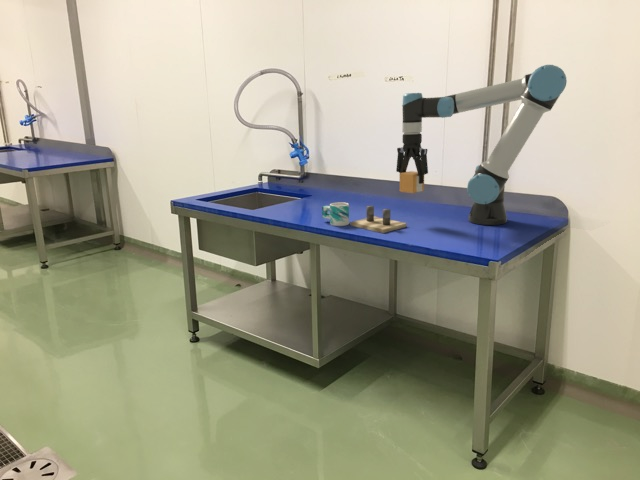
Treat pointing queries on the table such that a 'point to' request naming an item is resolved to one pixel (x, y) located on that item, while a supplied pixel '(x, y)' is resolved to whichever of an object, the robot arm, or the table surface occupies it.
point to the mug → (337, 213)
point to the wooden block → (409, 182)
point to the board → (378, 222)
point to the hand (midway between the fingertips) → (411, 190)
